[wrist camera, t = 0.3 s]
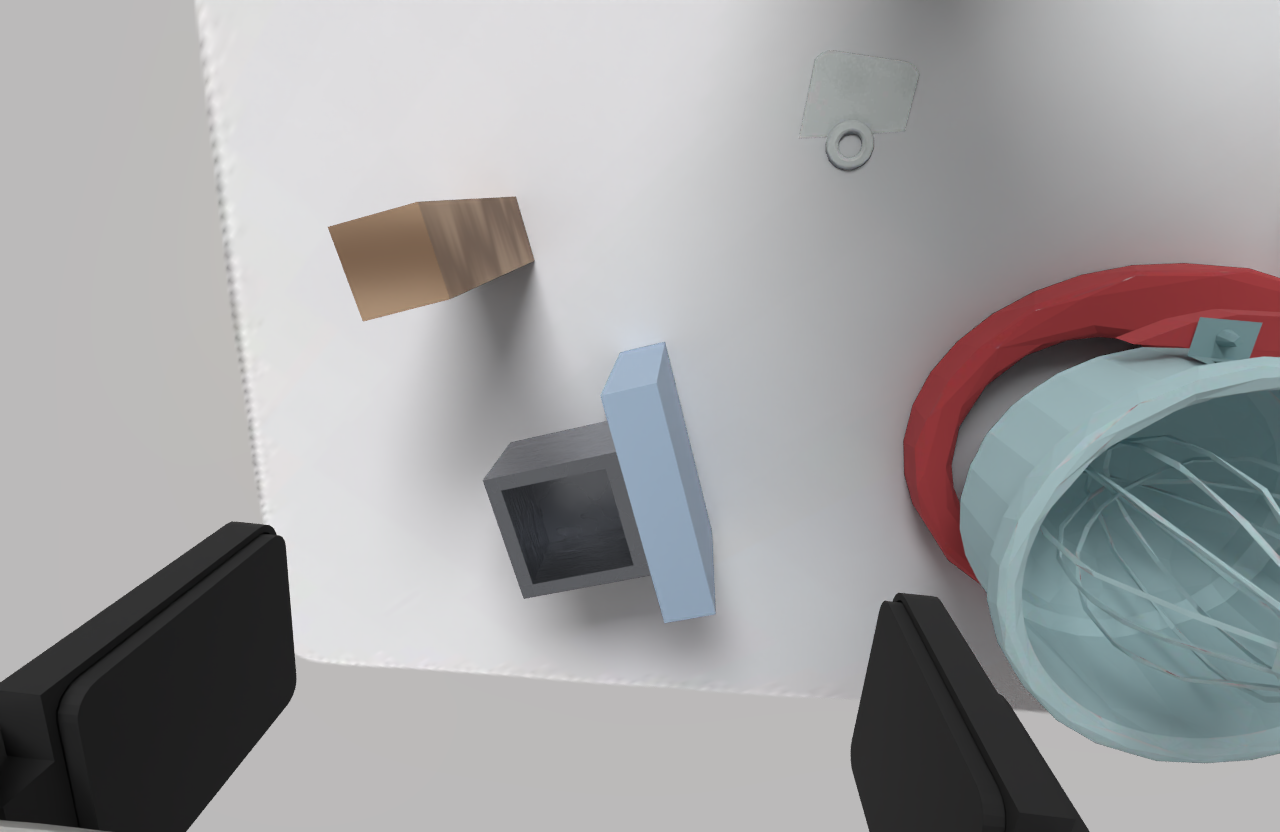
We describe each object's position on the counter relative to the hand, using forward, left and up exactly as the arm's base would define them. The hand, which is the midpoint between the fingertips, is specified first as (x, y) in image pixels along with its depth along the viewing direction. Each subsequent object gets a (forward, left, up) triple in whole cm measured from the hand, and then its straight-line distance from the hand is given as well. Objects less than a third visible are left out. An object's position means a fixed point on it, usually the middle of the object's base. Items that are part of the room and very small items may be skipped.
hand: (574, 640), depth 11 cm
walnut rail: (-6, -10, -35) cm, 37 cm away
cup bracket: (+10, -8, -31) cm, 34 cm away
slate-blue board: (+10, -2, -35) cm, 37 cm away
